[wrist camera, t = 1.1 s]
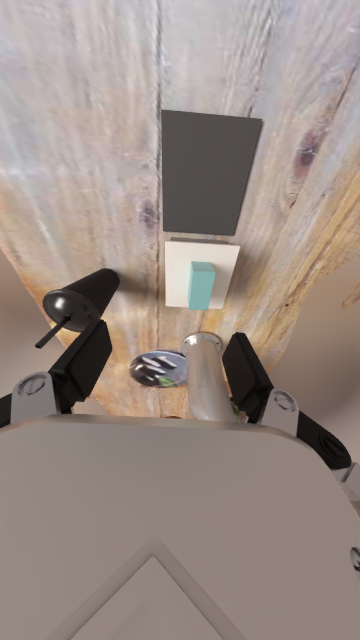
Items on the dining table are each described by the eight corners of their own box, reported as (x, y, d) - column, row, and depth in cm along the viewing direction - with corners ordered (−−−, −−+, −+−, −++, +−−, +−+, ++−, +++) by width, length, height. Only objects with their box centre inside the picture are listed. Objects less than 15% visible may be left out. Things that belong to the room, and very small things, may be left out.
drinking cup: (115, 257, 29) (39, 314, 13) (131, 290, 34) (88, 362, 18) (82, 265, 30) (-25, 327, 14) (102, 296, 35) (37, 369, 19)
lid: (220, 304, 29) (228, 323, 24) (166, 301, 28) (163, 320, 23) (236, 243, 22) (252, 253, 17) (166, 239, 22) (161, 248, 17)
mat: (232, 235, 26) (233, 235, 26) (163, 230, 26) (163, 230, 26) (260, 120, 18) (262, 119, 18) (161, 111, 18) (161, 109, 18)
